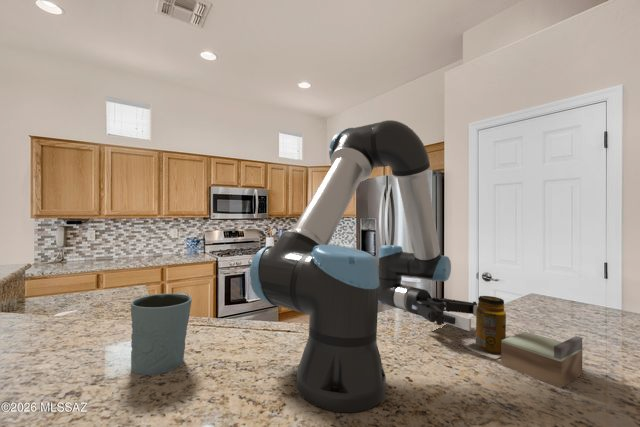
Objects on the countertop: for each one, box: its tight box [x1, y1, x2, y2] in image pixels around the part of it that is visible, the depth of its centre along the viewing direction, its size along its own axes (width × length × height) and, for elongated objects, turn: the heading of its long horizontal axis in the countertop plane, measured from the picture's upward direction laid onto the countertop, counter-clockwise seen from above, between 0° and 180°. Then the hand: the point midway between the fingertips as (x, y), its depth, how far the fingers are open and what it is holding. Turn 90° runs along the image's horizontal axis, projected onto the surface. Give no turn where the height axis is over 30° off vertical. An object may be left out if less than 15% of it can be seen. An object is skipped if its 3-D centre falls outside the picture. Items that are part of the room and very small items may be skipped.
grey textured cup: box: [130, 293, 193, 376], centre depth 54 cm, size 10×10×12 cm
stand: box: [500, 331, 583, 389], centre depth 59 cm, size 11×10×7 cm
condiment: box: [462, 295, 507, 360], centre depth 68 cm, size 7×8×12 cm
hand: (486, 320), depth 69 cm, fingers open, 13 cm apart
